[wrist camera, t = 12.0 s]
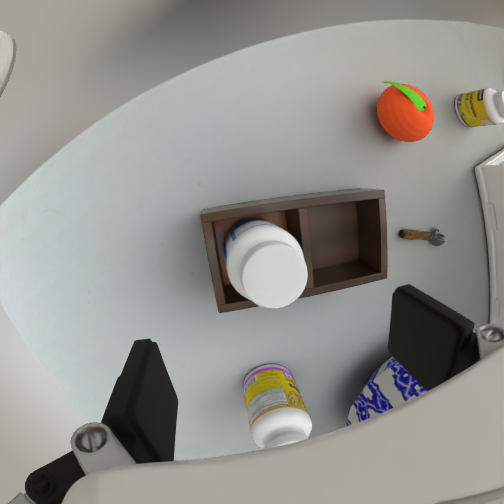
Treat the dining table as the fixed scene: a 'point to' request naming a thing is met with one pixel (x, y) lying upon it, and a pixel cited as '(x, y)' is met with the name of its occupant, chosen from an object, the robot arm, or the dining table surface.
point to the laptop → (494, 228)
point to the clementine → (405, 112)
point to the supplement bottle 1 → (275, 407)
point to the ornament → (384, 392)
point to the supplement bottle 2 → (480, 107)
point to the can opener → (422, 236)
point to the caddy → (309, 239)
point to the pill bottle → (264, 263)
